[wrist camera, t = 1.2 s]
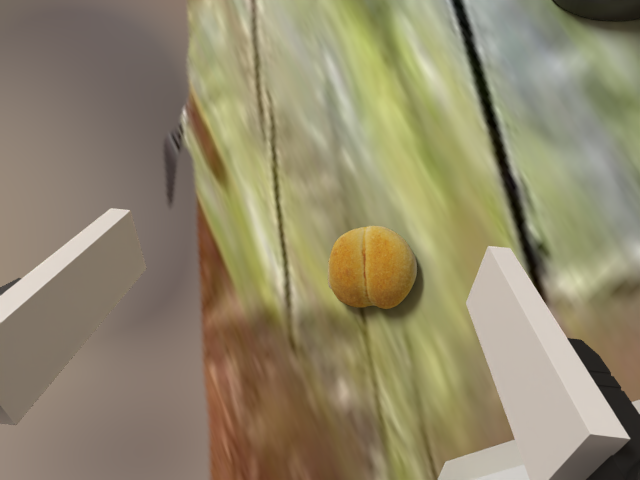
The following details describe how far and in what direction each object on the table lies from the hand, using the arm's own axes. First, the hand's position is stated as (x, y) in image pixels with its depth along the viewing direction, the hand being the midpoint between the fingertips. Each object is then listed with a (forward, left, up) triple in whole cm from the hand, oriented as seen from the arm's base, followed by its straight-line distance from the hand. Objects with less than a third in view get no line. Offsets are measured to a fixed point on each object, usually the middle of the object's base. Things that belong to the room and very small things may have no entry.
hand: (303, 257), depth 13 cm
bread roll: (+4, -4, -24) cm, 24 cm away
